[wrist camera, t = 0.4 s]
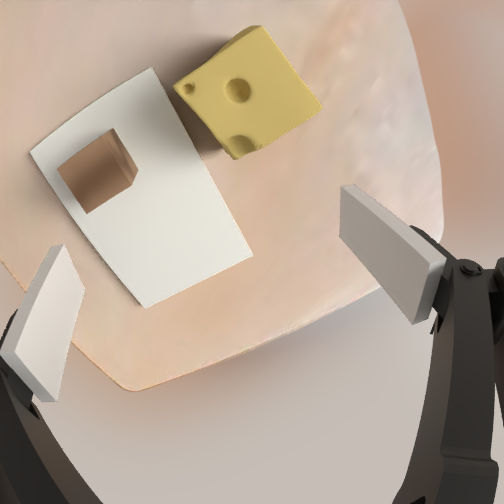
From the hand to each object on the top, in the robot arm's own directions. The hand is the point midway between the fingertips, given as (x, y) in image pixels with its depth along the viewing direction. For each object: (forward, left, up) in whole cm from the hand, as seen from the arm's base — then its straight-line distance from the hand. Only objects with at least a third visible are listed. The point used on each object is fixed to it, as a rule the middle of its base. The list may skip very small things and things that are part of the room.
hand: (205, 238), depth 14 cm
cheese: (-3, +7, -26) cm, 27 cm away
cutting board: (+4, -9, -25) cm, 27 cm away
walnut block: (-3, -10, -24) cm, 26 cm away
